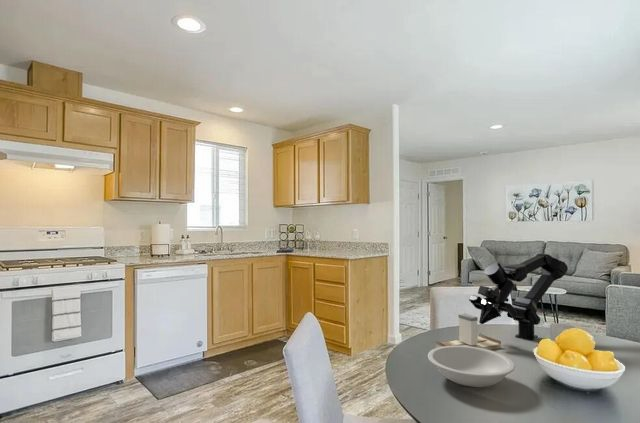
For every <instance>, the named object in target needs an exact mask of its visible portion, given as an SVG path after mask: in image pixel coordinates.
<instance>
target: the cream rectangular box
mask: <svg viewBox="0 0 640 423" xmlns="http://www.w3.org/2000/svg"><path fill="white" fill-rule="evenodd" d="M478 320H479V319H478V316H474V315H471V314H468V313H459V314H458V324H459V325H458V329H459V330H458V332H459V333H458V337H459V338H458V340H459V341H461V342H464V343H466V344H469V345H471V346H472V345H478V338H477V337H478V322H479V321H478Z"/></svg>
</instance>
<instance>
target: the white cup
mask: <svg viewBox="0 0 640 423" xmlns="http://www.w3.org/2000/svg"><path fill="white" fill-rule="evenodd" d="M569 328H576V329H577V327H576V326H575V325H572V324H567V323H560V322H558V323H557V322H556V323H555V322H554V323H550V324H549V330H550V332H549V333H550V341H551V340H553V341H554V340H555V338H556V337H557V336H558V335H559V334H560V333H562V331H563V330H565V329H569Z"/></svg>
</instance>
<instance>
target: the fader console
mask: <svg viewBox="0 0 640 423" xmlns="http://www.w3.org/2000/svg"><path fill="white" fill-rule="evenodd" d="M477 338H478V345H472V346H471V345H469V344H466V343H464V342H461V341H459V339H456V340H450V341H444V342H441V341H439V340H435V348H438V347H443V346H471V347H477V348H483V349H487V350H491V351H493V350H496V349H501V348H502V341H501V340H498V339H497V338H493V337H491V336H488V335H486V334H482V333H478V336H477Z"/></svg>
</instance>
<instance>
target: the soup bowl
mask: <svg viewBox="0 0 640 423" xmlns="http://www.w3.org/2000/svg"><path fill="white" fill-rule="evenodd" d="M427 353H428V354H427V358H428V361H429V362H430V363H431V364H433V365H434V366H435V367H436V369H437V370H438V371H439V373H440V374H441V375H443V377H445V378H446V379H448V380H449V381H452V382H454V383H456V384H458V385H461V386H465V387H466V386H467V387H471V388H485V387H491V386H493V385H496V384H498V383H500V382H501V381H503V380H504V379H505V378H506V376H507V375H509V374H511V373H512V372H514V371H515V368H516V365H515V363H514V361H513V360H512V359H511V358H509V357H508V356H506V355H504V354H502V353H499V352H497V351H493V350H487V349H483V348H477V347H471V346H443V347H438V348H436V347H435V348H433V349H431V350H430V351H429V352H427Z"/></svg>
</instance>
